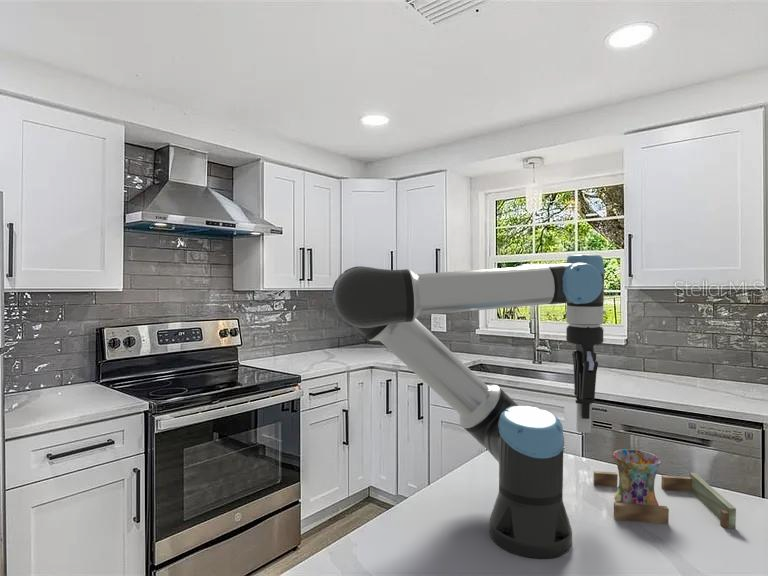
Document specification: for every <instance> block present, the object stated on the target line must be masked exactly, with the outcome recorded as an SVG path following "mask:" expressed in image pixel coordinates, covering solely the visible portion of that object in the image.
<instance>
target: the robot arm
mask: <svg viewBox="0 0 768 576" xmlns="http://www.w3.org/2000/svg"><path fill="white" fill-rule="evenodd" d="M605 276H606V274H605V263H604V258H603V257H602V256H601V255H599V254H571V255H568V256H567V259H566V262H565V263H526V264H525V263H524V264H519V265H518V266H514V267H513V266H512V267H501V268H500V267H498V268H487V269H486V268H485V269H471V270H470V269H469V270H459V271H458V270H457V271H443V272H430V273H429V272H427V273H426V272H425V273H417V274H416V273H414V272H413V271H412V270H411V269H410V268H409V269H406V268H405V269H383V268H375V267H370V266H361V265H360V266H353V267H351V268H350V267H349V268H348V269H345V270H344V271H343V272H342V273H341V274H340V275H338V277H337V279H335V281H334V283H333V286H332V288H331V289H332V290H331V300H332V301H331V302H332V303H333V307H334V309H335V310H336V312H337V313H338V315H339V317H341V319H342V320H343V321H345V322H346V323H348V324H349V325H350V326H352V327H354V328H355V330H357V331H358V332H359V333H360V334H361V335H362V336H363V337H364V338H366V340H368V341H369V342H381V343H382V345H384V346H385V347H386V348H387V349H388V350H389V351H390V352H392V354H393V355H394V356H395V357H396V358H398V359H399V360H400V361H401V362H402V363H403V364H405V366H407V368H409V369H410V370H411V371H412V372H413V373H414V374H415V375H416V376H417V377H419V379H421V381H422V382H424V383H425V384H426V385H427V386H428V387H429V388H430V389H431V390H432V391H433V392H435V393H436V394H437V395H438V396H439V397H440V398H441V399H442V400H444V402H446V403H447V404H448V406H450V407H451V408H452V409H453V410H454V411H455V412H456V413H457V414H458V415H459V425H460V426H461V427H462V428H463V429H464V430H465V431H466V432H467V433H469V434H470V435H471V436H472V437H473V438H474V439H475V440H476V441H477V442H478V444H479V445H481V446H483V448H484V449H486V450H487V451H488V452H489V453H490V455H492V457H493V458H494V459H495V460H496V461H497V463H498V494H497V497H496V500H495V503H494V505H493V509H492V511H491V513H490V517H489V521H488V522H489V524H488V525H489V526H488V531H489V536H490V537H491V539H492V541H493V542H494V543H496V545H498V546H499V547H501V548H502V549H504V550H505V551H508V552H510V553H512V554H515V555H519V556H523V557H526V558H531V559H532V558H533V559H551V558H557V557H559V556H562V555H564V554H566V553H568V552H569V551H570V550H571V548H572V546H573V530H572V526H571V523H570V520H569V517H568V513H567V510H566V507H565V504H564V501H563V495H564V493H563V489H564V487H563V486H564V447H565V435H564V428H563V424H562V422H561V420H560V418H558V417H557V416H556V415H555V414H553V412H552V413H551V412H550V411H548V410H545V409H540V408H539V407H534V406H528V405H519V404H518V403H517V402H515V401H514V399H512V398H511V397H510V396H509V395H508V394H507V393H506V392H505V391H504V390H503V389H502V388H501V387H500V386H499V385H497V384H486V383H485V382H484V381H483V380H482V379H481V378H480V377H479V376H478V375H477V374H476V373H475V372H473V370H471V369H470V368H469V367H468V366H467V365H466V364H465V363H464V362H463V361H462V360H461V359H459V357H458V356H456V355H455V354H454V353H453V352H452V350H450V349H449V348H448V347H447V346H446V345H445V344H443V342H442V341H440V340H439V338H437V337H436V335H434V334H433V333H432V332H431V331H430V330H429V329H428V328H427V327H425V325H424V324H422V323H421V322H420V321H419V320H418V319H417V318H418V317H419V316H427V315H428V316H429V315H438V314H449V313H459V312H460V313H461V312H471V311H472V312H474V311H484V310H485V311H486V310H487V311H488V310H497V309H507V308H508V309H509V308H518V307H531V306H540V305H541V306H542V305H544V306H545V305H558V304H559V305H560V304H566V305H565V306H566V307H565V308H566V314H565V315H566V317H565V318H566V319H565V320H566V323H567V324H568V325H567V326H566V342H567V343H568V344H573V345H575V350H574V349H573V351H572V354H571V356H572V362H573V365H572V366H573V383H574V384H573V386H574V393H573V394H574V395H575V396H576V397H575V404H576V431H577V433H580V434H581V433H584V434H592V404H595V402H596V401H595V395H596V383H597V372H598V367H599V362H598V361H597V353H596V352H595V350H594V346H597V345H601V344H603V343H604V328H603V326H602V325H603V324H604V315H606V313H607V310H606V309H604V297H605V293H604V292H605Z"/></svg>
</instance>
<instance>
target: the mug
mask: <svg viewBox="0 0 768 576" xmlns="http://www.w3.org/2000/svg"><path fill="white" fill-rule="evenodd" d="M612 457H613V458H614V460H615V463H616V466H617V471H618V477H619V479H618V480H619V481H618V486H617V491H616V493H615V494H614V500H615V503H629V504H643V505H657V506H660V505H659V502H658V500H657V498H656V494H655V480H656V477H657V473H658V471H659V468H660V466H661V464H662V459H661V457H659V456H657V455H655V454H653V453H650V452H648V451H644V450H639V449H633V448H632V449H631V448H625V449H624V448H623V449H617V450H615V451H614V452H613V455H612Z"/></svg>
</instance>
